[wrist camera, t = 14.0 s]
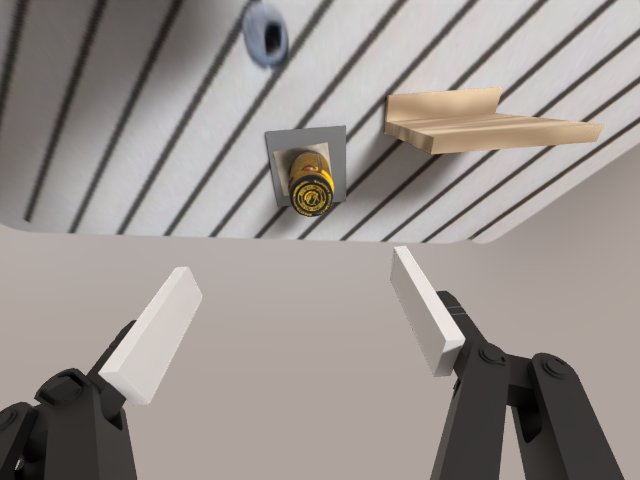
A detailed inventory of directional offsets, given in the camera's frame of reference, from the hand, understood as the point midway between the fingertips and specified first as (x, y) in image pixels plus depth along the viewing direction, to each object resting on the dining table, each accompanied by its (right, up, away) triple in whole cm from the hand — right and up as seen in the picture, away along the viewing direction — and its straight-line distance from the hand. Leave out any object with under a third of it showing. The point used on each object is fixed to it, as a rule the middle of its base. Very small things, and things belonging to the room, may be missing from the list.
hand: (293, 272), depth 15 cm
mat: (0, +14, +23) cm, 27 cm away
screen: (+19, +21, +20) cm, 35 cm away
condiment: (-1, +14, +23) cm, 27 cm away
